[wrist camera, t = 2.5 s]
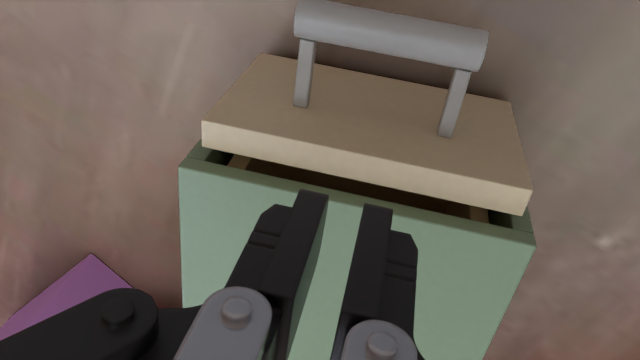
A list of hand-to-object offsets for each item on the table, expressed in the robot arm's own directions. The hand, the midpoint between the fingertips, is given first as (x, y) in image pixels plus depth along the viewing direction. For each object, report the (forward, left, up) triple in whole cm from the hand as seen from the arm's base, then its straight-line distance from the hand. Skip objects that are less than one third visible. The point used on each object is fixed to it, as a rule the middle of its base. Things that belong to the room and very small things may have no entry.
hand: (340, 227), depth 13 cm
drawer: (+6, 0, -14) cm, 15 cm away
